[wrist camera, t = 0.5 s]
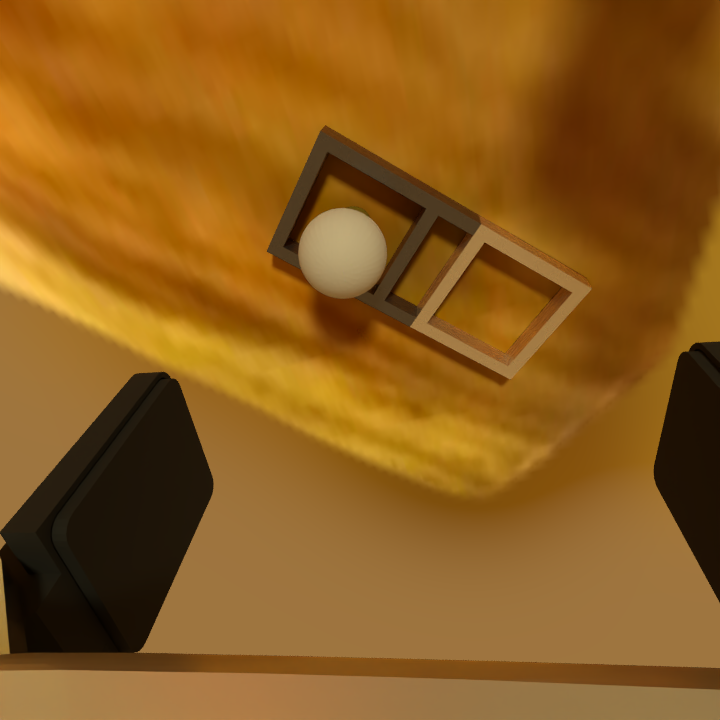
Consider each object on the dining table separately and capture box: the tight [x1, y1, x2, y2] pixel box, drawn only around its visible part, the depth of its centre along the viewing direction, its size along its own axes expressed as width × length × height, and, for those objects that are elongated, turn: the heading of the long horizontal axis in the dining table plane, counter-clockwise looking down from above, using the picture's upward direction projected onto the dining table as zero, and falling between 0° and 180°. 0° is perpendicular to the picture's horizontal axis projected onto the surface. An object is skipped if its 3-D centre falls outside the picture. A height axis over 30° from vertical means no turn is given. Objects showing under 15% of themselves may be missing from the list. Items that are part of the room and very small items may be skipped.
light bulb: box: [298, 206, 387, 299], centre depth 36 cm, size 6×6×10 cm
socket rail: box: [267, 126, 592, 380], centre depth 41 cm, size 10×23×2 cm, turn 62°
